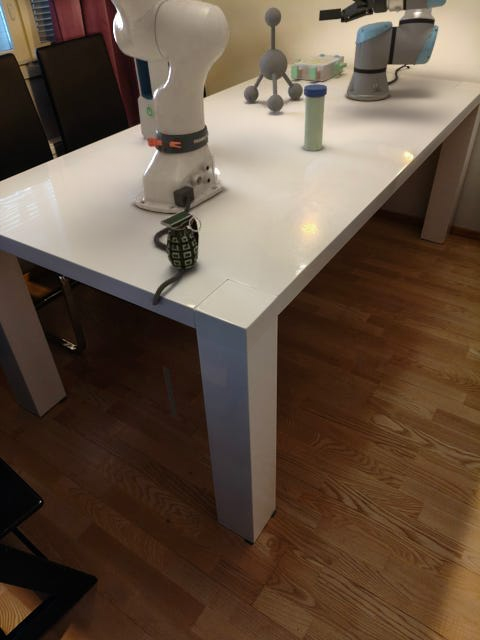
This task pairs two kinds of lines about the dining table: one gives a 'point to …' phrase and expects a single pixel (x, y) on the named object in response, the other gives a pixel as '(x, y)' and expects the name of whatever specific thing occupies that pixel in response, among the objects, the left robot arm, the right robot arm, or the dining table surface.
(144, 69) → the electronic device
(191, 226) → the grenade
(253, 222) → the dining table surface
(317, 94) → the lid
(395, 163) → the dining table surface
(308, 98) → the jar
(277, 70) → the molecular model
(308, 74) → the decorative block
